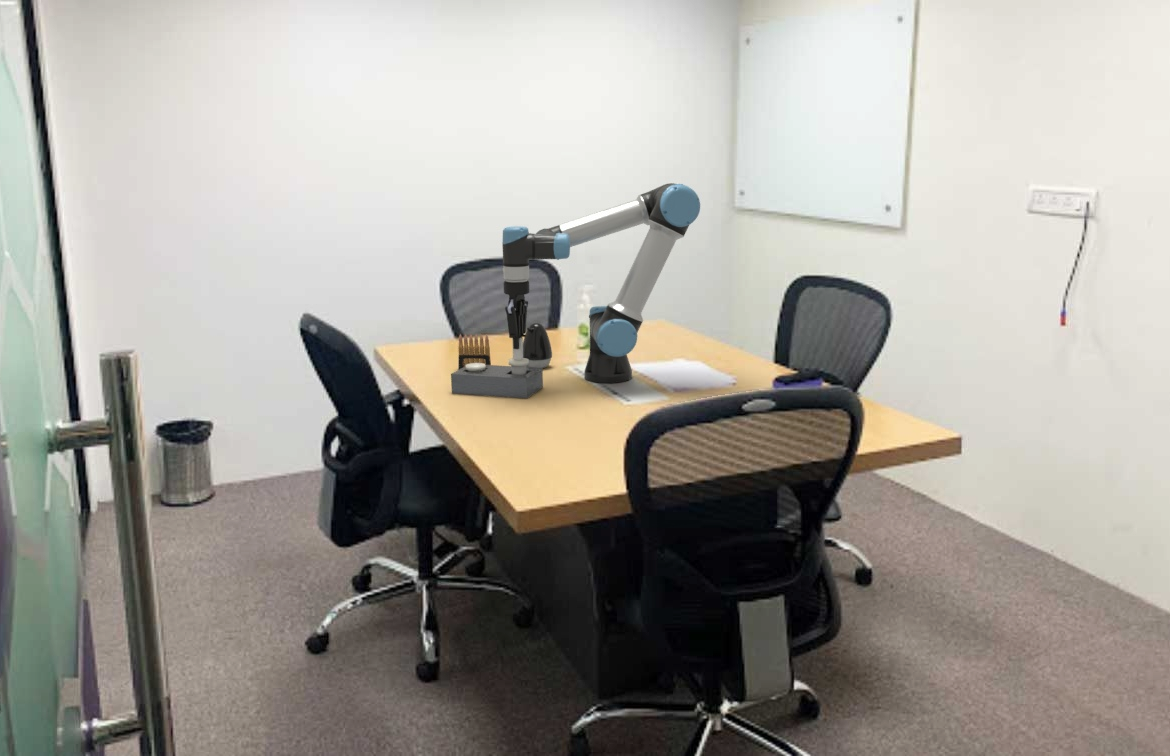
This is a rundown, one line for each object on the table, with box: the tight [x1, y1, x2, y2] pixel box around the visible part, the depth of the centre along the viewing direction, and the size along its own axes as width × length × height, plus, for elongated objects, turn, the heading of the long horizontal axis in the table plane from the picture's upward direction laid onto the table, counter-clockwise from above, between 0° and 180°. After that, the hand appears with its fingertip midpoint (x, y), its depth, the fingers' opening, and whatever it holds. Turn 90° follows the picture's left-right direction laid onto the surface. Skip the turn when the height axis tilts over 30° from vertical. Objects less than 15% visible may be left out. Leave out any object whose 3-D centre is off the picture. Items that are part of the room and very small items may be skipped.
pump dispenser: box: [523, 322, 553, 369], centre depth 311 cm, size 10×10×15 cm
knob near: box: [508, 357, 529, 375], centre depth 280 cm, size 6×6×7 cm
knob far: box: [466, 362, 486, 372], centre depth 285 cm, size 6×6×7 cm
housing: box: [450, 364, 544, 399], centre depth 283 cm, size 24×14×6 cm, turn 73°
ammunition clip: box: [457, 333, 492, 370], centre depth 310 cm, size 11×2×12 cm, turn 85°
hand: (518, 359), depth 279 cm, fingers closed
